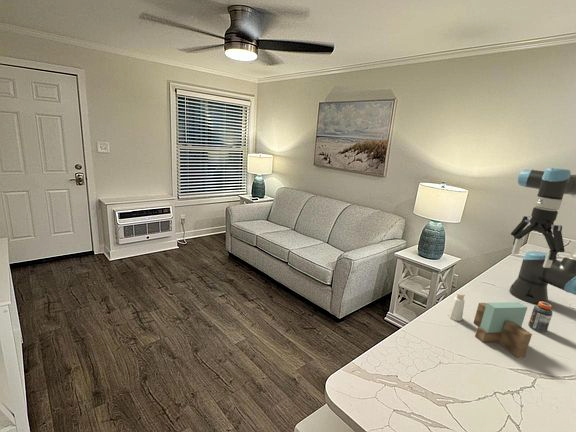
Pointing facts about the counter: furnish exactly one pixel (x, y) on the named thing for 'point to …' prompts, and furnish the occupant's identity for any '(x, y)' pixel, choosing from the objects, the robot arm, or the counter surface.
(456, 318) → the pepper shaker
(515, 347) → the walnut joint base
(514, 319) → the teal block
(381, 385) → the counter surface
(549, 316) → the pill bottle
